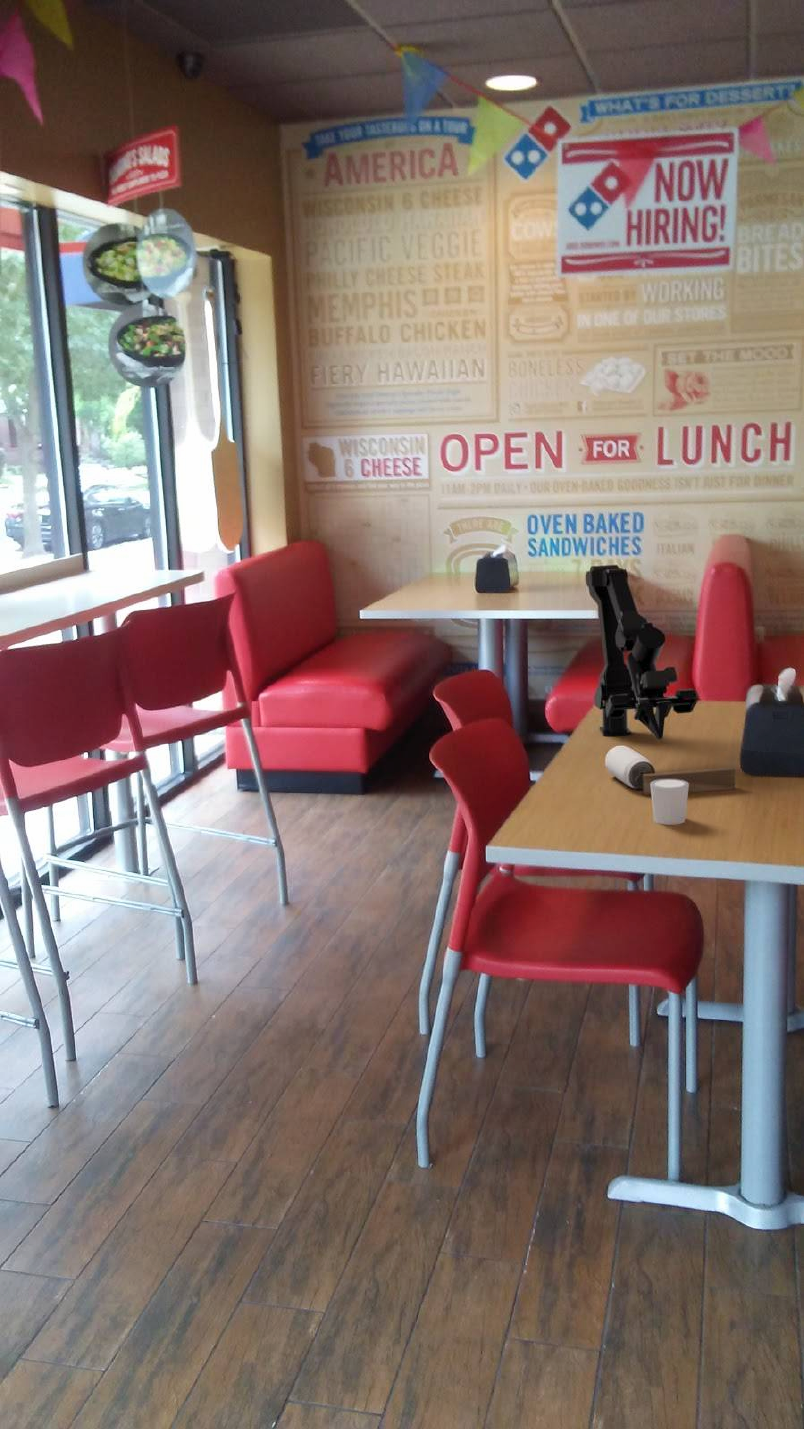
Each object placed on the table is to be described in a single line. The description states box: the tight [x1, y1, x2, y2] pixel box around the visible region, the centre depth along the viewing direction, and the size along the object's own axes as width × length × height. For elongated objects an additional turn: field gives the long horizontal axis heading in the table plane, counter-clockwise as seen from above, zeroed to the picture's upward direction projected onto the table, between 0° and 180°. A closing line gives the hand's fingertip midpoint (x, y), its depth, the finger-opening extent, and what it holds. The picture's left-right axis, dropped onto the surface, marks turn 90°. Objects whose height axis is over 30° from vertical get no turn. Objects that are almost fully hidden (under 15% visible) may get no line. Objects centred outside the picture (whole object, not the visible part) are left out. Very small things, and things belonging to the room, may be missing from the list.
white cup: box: [650, 779, 689, 826], centre depth 235 cm, size 7×7×7 cm
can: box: [604, 745, 656, 790], centre depth 259 cm, size 6×6×12 cm
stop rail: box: [642, 766, 736, 797], centre depth 252 cm, size 2×18×4 cm, turn 97°
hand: (660, 738), depth 267 cm, fingers closed
